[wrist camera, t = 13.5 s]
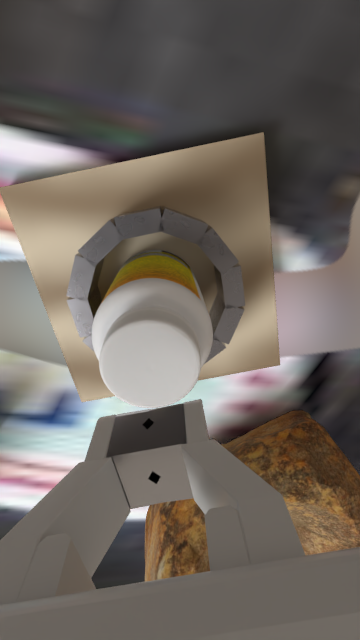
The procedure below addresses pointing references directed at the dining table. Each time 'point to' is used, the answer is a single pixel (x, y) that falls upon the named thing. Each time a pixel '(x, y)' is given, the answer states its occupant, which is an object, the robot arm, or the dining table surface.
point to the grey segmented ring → (150, 221)
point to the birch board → (155, 240)
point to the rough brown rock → (284, 476)
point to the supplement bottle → (152, 331)
